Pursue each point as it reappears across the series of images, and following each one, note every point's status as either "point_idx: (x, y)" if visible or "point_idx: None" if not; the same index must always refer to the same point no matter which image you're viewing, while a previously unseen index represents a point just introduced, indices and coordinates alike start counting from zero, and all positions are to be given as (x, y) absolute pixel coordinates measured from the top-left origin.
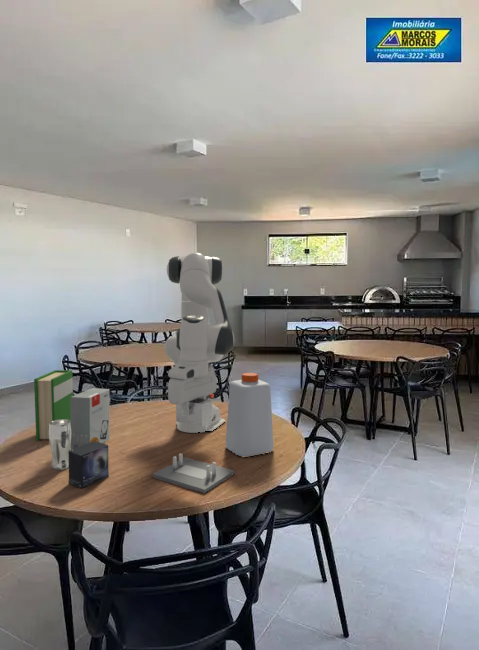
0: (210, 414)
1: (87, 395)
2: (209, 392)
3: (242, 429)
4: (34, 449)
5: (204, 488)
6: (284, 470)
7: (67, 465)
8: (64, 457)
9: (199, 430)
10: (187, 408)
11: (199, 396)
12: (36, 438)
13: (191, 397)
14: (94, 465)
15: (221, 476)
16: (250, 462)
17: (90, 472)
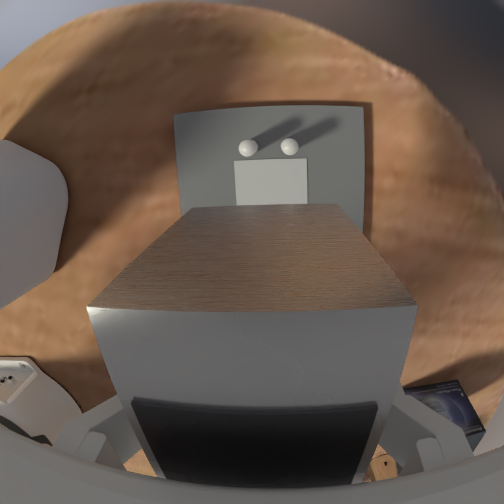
0: (191, 228)
1: None
2: (1, 444)
3: (1, 206)
4: None
5: (357, 112)
6: (74, 29)
7: (387, 458)
8: (394, 472)
9: (50, 383)
10: (426, 406)
11: (221, 501)
12: None
13: (450, 501)
14: (446, 411)
15: (243, 118)
16: (77, 139)
17: (451, 400)
